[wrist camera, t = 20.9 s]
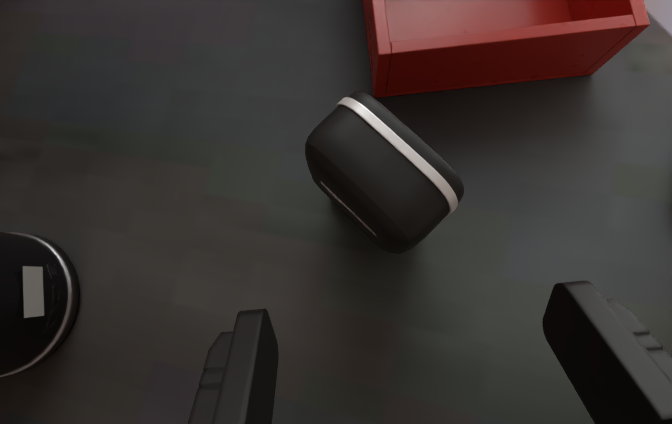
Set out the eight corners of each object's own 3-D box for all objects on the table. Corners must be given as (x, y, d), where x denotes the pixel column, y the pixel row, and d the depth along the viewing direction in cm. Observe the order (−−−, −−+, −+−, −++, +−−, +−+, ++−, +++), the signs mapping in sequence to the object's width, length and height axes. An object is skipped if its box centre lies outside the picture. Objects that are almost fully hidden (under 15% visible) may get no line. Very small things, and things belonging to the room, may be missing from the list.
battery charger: (314, 196, 26) (282, 134, 15) (352, 159, 26) (350, 70, 15) (386, 268, 25) (412, 260, 14) (426, 227, 25) (482, 188, 14)
